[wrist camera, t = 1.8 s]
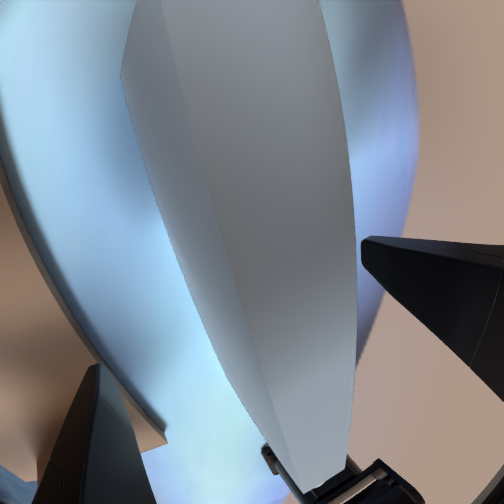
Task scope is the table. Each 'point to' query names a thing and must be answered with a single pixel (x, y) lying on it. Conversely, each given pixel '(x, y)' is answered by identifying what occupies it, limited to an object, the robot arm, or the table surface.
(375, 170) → the table surface
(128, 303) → the table surface
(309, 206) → the door
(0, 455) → the hinge frame
